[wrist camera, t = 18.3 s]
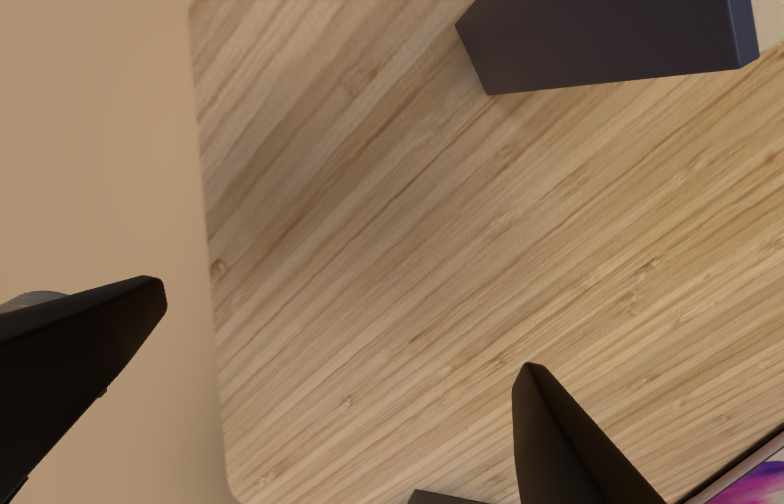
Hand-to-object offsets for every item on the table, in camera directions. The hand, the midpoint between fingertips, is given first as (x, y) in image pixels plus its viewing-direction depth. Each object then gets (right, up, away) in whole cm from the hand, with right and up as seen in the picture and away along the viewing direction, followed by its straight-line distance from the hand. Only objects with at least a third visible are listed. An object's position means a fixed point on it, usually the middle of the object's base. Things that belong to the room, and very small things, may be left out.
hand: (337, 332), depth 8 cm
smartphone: (+32, -18, +21) cm, 42 cm away
